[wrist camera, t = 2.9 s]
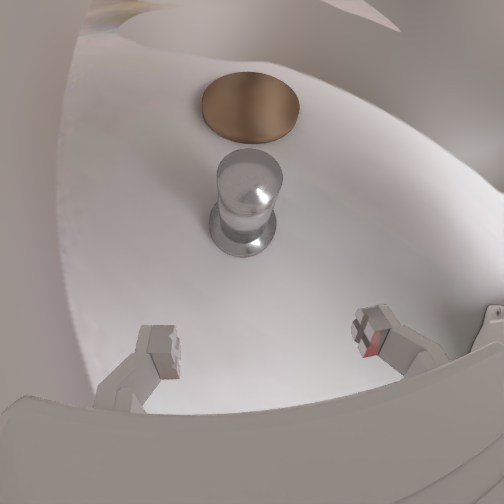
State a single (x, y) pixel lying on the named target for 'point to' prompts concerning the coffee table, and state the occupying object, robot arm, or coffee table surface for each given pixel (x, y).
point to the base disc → (250, 107)
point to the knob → (245, 202)
